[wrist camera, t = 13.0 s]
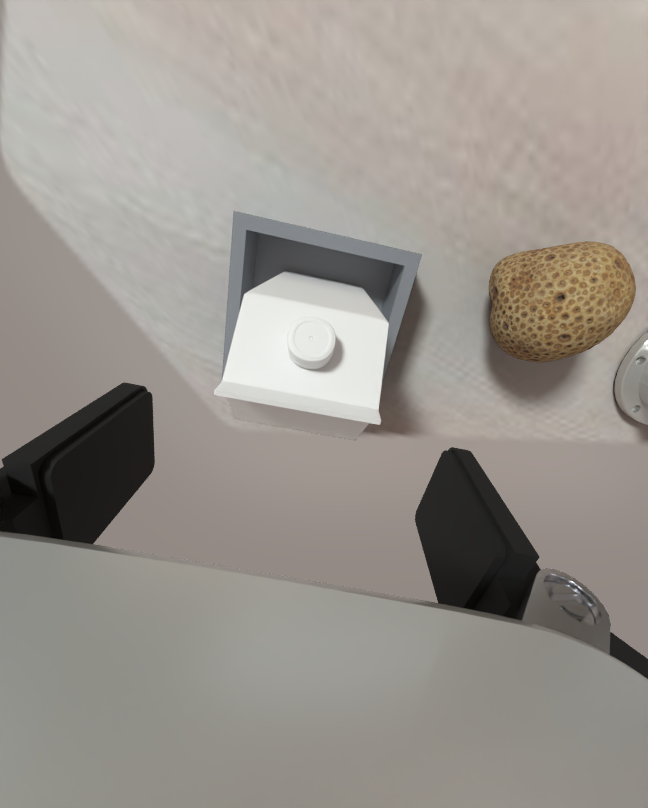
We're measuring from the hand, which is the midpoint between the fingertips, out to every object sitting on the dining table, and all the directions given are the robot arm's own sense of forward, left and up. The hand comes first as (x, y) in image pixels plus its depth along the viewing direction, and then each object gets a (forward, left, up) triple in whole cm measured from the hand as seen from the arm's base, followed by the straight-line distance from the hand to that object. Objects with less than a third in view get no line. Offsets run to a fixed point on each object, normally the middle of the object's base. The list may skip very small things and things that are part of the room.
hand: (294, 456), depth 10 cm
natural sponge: (-18, -5, -23) cm, 30 cm away
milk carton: (0, 0, -23) cm, 23 cm away
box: (0, 0, -23) cm, 23 cm away
